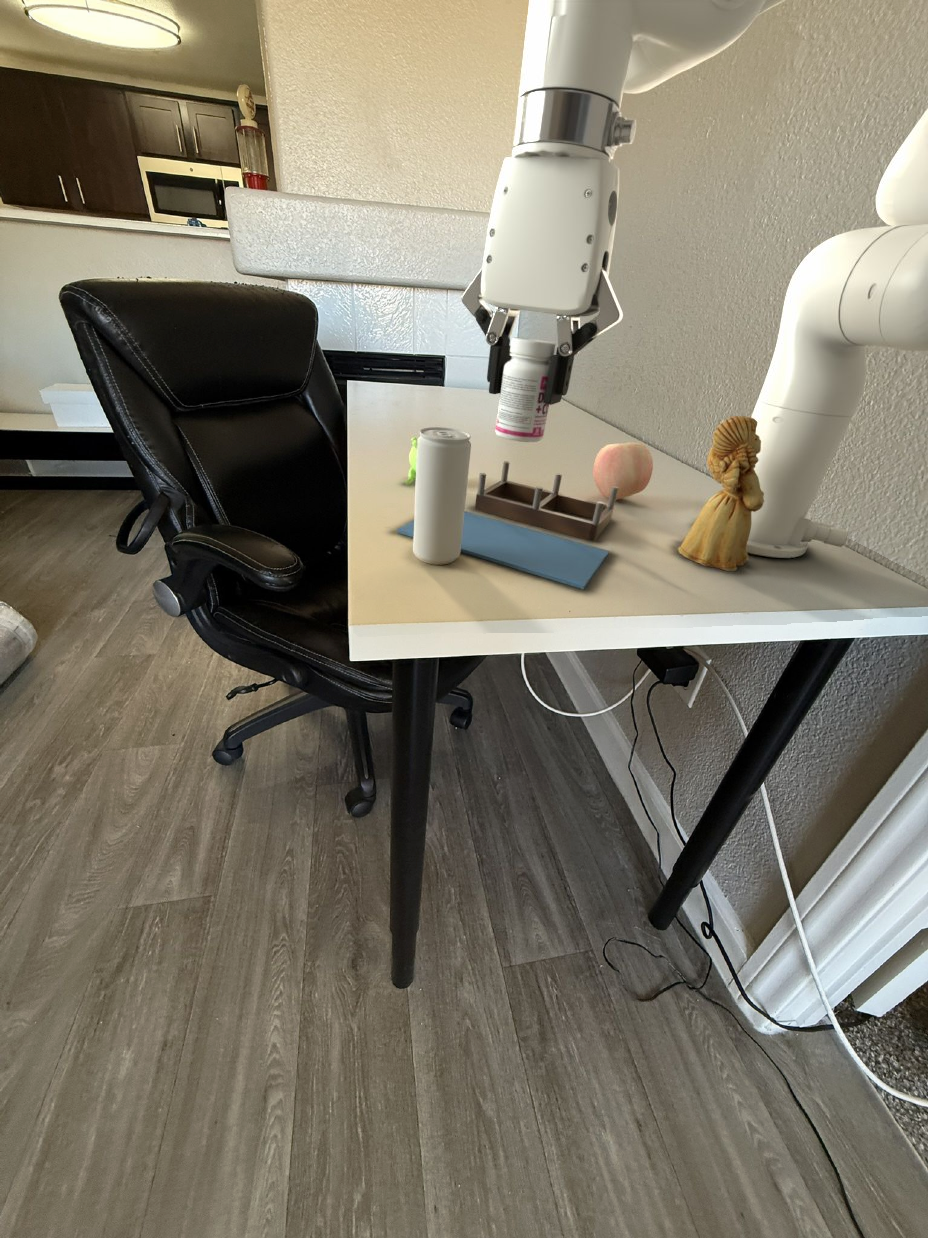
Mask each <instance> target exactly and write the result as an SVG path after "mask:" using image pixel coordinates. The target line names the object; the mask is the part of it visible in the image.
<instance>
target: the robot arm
mask: <svg viewBox="0 0 928 1238" xmlns="http://www.w3.org/2000/svg"><path fill="white" fill-rule="evenodd" d="M785 1H786V0H529V1H528V10H527V19H526V28H525V35H524V36H525V37H524V44H523V52H522V53H523V55H522V63H521V73H520V80H519V91H518V101H517V107H516V117H515V125H514V133H513V142H512V152H511V156H509V157H508V156H507V157H505V158H504V160H503V162H502V163H503V164H502V167H501V170H500V173H499V176H498V177H499V178H498V180H497V185H496V187H495V188H496V189H495V192H494V197H493V201H492V205H491V210H490V216H489V221H488V227H487V230H486V231H487V232H486V238H485V245H484V251H483V257H482V258H483V260H482V266H481V268H480V269H479V271H478V272H477V273H476V274H475V276H474V277H473V279H472V280H471V282H470V283H469V285H468V286H467V287H466V288H465V290H464V291H463V292H462V294H461V302H462V304H463V305H464V307H466V309H467V310H468V311H469V313H470V314H471V316H473V317H474V318H475V321H476V323H477V324H478V326H479V328H480V329H481V332H482V333H483V334H484V337H485V341H486V343H487V344H488V345H489V347H490V348H489V353H488V354H489V356H488V364H487V373H486V381H487V383H489V386H488V394H490V395H491V394H492V395H500V391H501V383H502V375H503V368H504V364H505V363H506V362H507V361H509V360H511V356H510V355H509V353H510V346H511V338H512V337H511V336H512V334H513V331H514V328H515V326H516V323H517V320H518V317H519V315H520V313H521V311H527V312H535V313H544V314H550V315H556V316H555V317H556V328H557V329H556V332H557V334H556V335H557V347H556V350H555V351H556V352H555V354H554V355H553V356H552V357H551V359H550V365H549V371H548V377H547V383H546V389H545V395H544V402H545V403H546V404H549V406H552V405H555V404H559V403H560V402H561V401H562V398H563V396H566V395H567V393H568V391H569V387H570V381H571V376H572V371H573V366H574V360H575V356H577V355H579V353H580V352H581V351H582V350H583V349H584V348H586V346H587V345H589V344H590V343H591V342H593V341H594V340H595V339H596V338H598V337H599V336H600V335H601V334H603V333H605V332H606V331H608V330H610V329H611V328H612V327H614V326H615V325H617V324H618V323H620V322H621V321H622V319H623V316H624V313H623V310H622V307H621V305H620V303H619V300H618V298H617V296H616V293H615V291H614V289H613V286H612V284H611V281H610V278H609V277H610V270H611V269H610V268H611V261H612V255H613V247H614V240H615V234H616V226H617V216H618V207H619V205H618V204H619V192H620V167H618V166H617V165H615V164H614V163H612V162H611V160H614V157H615V152H616V151H617V149H618V147H622V146H623V145H632V144H633V142H634V140H635V136H636V129H637V119H636V118H627V116H623V115H622V112H621V106H622V101H623V96H624V93H625V94H634V95H636V94H642V93H645V92H648V91H650V90H652V89H653V88H655V87H657V86H660V84H663V83H664V82H666V81H667V80H669V79H671V78H673V77H676V76H677V75H679V74H681V73H683V72H685V71H688V70H690V69H691V68H694V67H695V66H698V65H699V64H701V63H703V62H705V61H706V60H709V59H711V58H712V57H715V56H717V55H718V54H719V53H721V52H723V51H724V50H726V49H727V48H729V47H730V46H731V45H733V43H734V42H736V41H737V40H738V39H739V38H740V37H741V36H742V35H744V33H745V32H746V31H747V30H748V28H749V27H750V26H751V24H752V23H753V22H754V21H755V19H756V18H757V17H758V16H760V15H761V14H764V13H765V12H766V11H768V10H770V9H772V8H773V7H776V6H777V5H779V4H782V3H783V2H785ZM875 208H876V213H877V215H878V216H879V218H880V219H881V221H883V222H884V223H885V224H887V226H874V227H867V228H866V227H865V228H859V229H853V230H850V231H846V232H843V233H840V234H837V235H835V236H833V237H831V238H828V239H826V240H825V241H822V242H821V243H820V244H818V245H817V246H816V247H815V248H813V249H812V250H811V251H810V252H809V253H808V254H807V255H806V256H805V257H804V258H803V259H802V260H801V262H800V263H799V264H798V266H797V268H796V270H795V271H794V273H793V275H792V277H791V279H790V282H789V285H788V287H787V290H786V294H785V298H784V303H783V308H782V312H781V313H782V314H781V320H780V324H779V325H780V326H779V331H778V335H777V340H776V345H775V348H774V352H773V355H772V359H771V362H770V365H769V368H768V371H767V374H766V376H765V379H764V383H763V385H762V388H761V390H760V393H759V396H758V399H757V401H756V403H755V406H754V410H753V412H752V414H751V417H750V418H754V419H755V420H756V421H757V427H756V435H758V436H759V439H760V440H761V452H760V453H758V454H756V457H758V460H759V461H758V462H757V463H756V464H755V468H754V470H755V473H756V474H757V476H758V479H759V483H760V489H761V491H762V492H764V496H763V497H764V503H763V505H762V508H761V509H759V510H758V511H756V512H753V511H752V512H751V530H750V535H749V538H748V541H747V545H746V551H747V554H751V555H756V556H762V557H766V558H767V557H768V558H777V559H792V558H797V557H800V556H803V555H804V554H805V553H806V551H807V549H808V547H809V543H811V542H812V540H813V541H818V542H822V543H824V544H825V545H831V546H835V547H839V548H842V547H843V546H844V545H845V543H846V541H847V539H848V536H849V530H846V529H841V528H837V527H834V524H832V523H828V522H824V521H817V520H813V517H812V515H811V510H810V508H811V506H812V504H813V502H814V500H815V498H816V496H817V494H818V491H819V489H820V487H821V486H822V483H823V480H824V479H825V476H826V474H827V472H828V470H829V467H830V466H831V464H832V462H833V460H834V457H835V455H836V453H837V452H838V449H839V447H840V444H841V442H842V440H843V438H844V435H845V433H846V431H847V429H848V427H849V425H850V423H851V422H852V418H853V417H854V415H855V413H856V411H857V409H858V407H859V404H860V402H861V399H862V397H863V393H864V390H865V385H866V375H867V371H866V369H867V367H866V346H867V347H875V348H882V349H884V348H885V349H890V350H900V351H911V352H913V351H914V352H925V351H928V108H926V110H925V111H924V112H923V114H922V116H921V117H920V118H919V120H918V121H917V122H916V124H915V125H914V127H913V128H912V129H911V131H910V133H909V134H908V135H907V137H906V138H905V140H904V141H903V142H902V143H901V145H900V147H899V148H898V149H897V151H896V152H895V154H894V156H893V157H892V159H891V161H890V162H889V164H888V166H887V168H886V169H885V172H884V173H883V175H882V177H881V180H880V181H879V185H878V188H877V190H876V195H875ZM487 304H489V305H490V306H493V307H494V311H493V310H492V309H490V307H488V305H487ZM597 313H598V314H597ZM595 314H597V315H596V316H595V317H593V318H592V319H591V320H589V321H588V322H585V323H584V324H583V325H582V326H581V317H591V316H593V315H595Z"/></svg>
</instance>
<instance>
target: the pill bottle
mask: <svg viewBox="0 0 928 1238" xmlns="http://www.w3.org/2000/svg"><path fill="white" fill-rule="evenodd" d="M556 344H557V343H556V342H554V341H549V340H544V339H535V338H528V337H513V336H512V337H511V339H510V345H509V346H510V353H509V355H510V356H511V360H509V361H507V362H506V363H505V364H504V368H503V375H502V383H501V391H500V393H499V399H498V407H497V415H496V421H495V428H494V429H495V430H494V432H495V434H496V436H497V437H499V438H502V439H505V440H510V441H515V442H520V443H537V442H540V441H542V440H543V439H544V436H545V429H546V424H547V418H548V412H549V407H550V405H549V404H546V403H545V402H544V395H545V389H546V383H547V377H548V371H549V365H550V359H551V357H552V356H553V355H555V353H556V352H555V351H556Z"/></svg>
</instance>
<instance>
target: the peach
mask: <svg viewBox="0 0 928 1238" xmlns="http://www.w3.org/2000/svg"><path fill="white" fill-rule="evenodd" d="M594 459H595V460H594V463H593V468H592V475H593V481H594V485H595V486H596V488H597V490H598V492H599V493H600V494H601V495H602V496H603V497H604V498H606V499H608V500H609V497H610V493H611V489H612V487H613V486H616V487H618V488H619V489H618V493H617V497H616V500H615V501H617V500H621V499H625V498H627V497H631V496H634V495H637V494H639V493H641V492H643V491H644V490H645V489H646V488H647V486H648V485H649V483H650V481H651V478H652V475H653V470H654V462H653V457H652V453H651V452H650V450H649V448H648V447H647V446H646V445H644V444H642V443H641V442H626V443H608V444H606V445H604V446H603V447H601V448H600V450H599V452H598V453H597V454H596V457H595V458H594Z"/></svg>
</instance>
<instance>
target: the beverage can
mask: <svg viewBox="0 0 928 1238" xmlns="http://www.w3.org/2000/svg"><path fill="white" fill-rule="evenodd" d="M419 435H420V436H418V438H417V440H418V441H417V462H416V479H415V486H414V487H415V488H414V510H413V511H414V513H413V515H414V517H413V521H414V537H412V538H413V539H412V553H413V554H414V556H415V557H416V559H418V560H419V561H421V562H423V563H426V564H429V565H440V566H441V565H442V566H443V565H448V564H451V563H454V562H455V561H456V560H457V559H458V558H459V557H460V555H461V552H460V551H461V541H462V531H463V521H464V511H465V512H466V501H467V493H468V492H467V490H468V480H469V469H470V462H471V461H470V460H471V449H472V442H471V441H470V439H471V435H470V433H469V432H466V431H465V430H464V431H463V430H460V429H456V428H452V427H451V428H450V427H443V426H442V427H440V426H433V427H431V426H430V427H424V428H420V430H419Z"/></svg>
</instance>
